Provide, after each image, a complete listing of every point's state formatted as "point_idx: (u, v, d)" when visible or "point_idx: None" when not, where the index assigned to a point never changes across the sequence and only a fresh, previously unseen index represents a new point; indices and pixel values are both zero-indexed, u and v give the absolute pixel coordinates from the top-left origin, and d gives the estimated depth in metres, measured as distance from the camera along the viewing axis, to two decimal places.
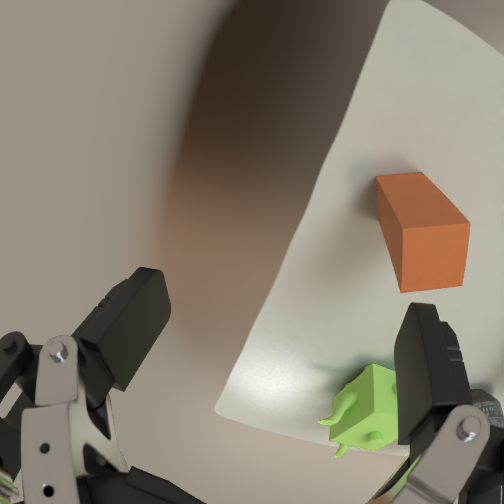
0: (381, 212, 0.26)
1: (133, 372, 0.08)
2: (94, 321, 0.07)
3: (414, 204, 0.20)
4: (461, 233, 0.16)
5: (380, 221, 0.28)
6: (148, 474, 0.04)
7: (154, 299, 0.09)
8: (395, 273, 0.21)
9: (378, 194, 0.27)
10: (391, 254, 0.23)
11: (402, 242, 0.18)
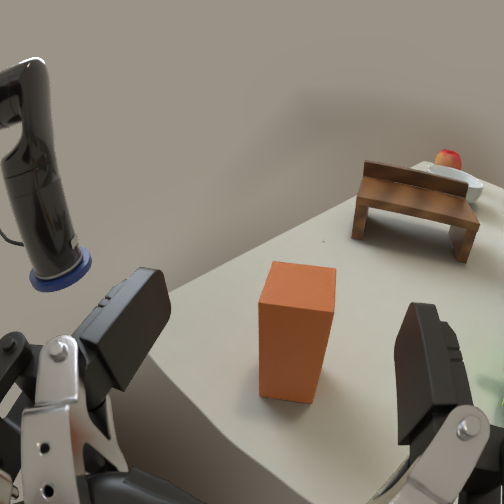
0: (291, 387, 0.24)
1: (133, 372, 0.08)
2: (94, 321, 0.07)
3: None
4: (280, 266, 0.23)
5: (306, 396, 0.24)
6: (148, 474, 0.04)
7: (154, 299, 0.09)
8: (327, 336, 0.20)
9: (275, 392, 0.25)
10: (316, 353, 0.21)
11: (273, 305, 0.20)
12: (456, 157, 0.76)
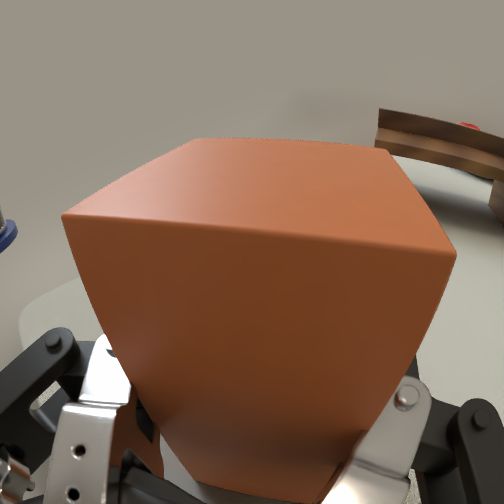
0: (259, 485, 0.08)
1: None
2: None
3: None
4: (212, 142, 0.07)
5: (297, 497, 0.08)
6: (148, 474, 0.04)
7: None
8: (392, 388, 0.04)
9: (226, 484, 0.09)
10: (333, 438, 0.05)
11: (111, 223, 0.04)
12: None
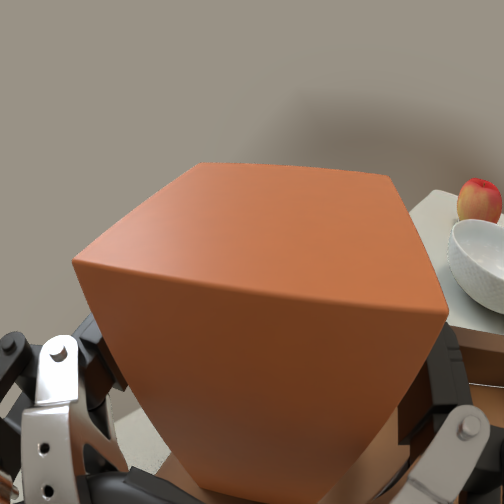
0: (262, 492, 0.08)
1: None
2: (94, 321, 0.07)
3: None
4: (216, 168, 0.07)
5: (298, 503, 0.08)
6: (148, 474, 0.04)
7: None
8: (385, 416, 0.04)
9: (229, 491, 0.09)
10: (332, 455, 0.05)
11: (122, 274, 0.04)
12: (495, 195, 0.39)
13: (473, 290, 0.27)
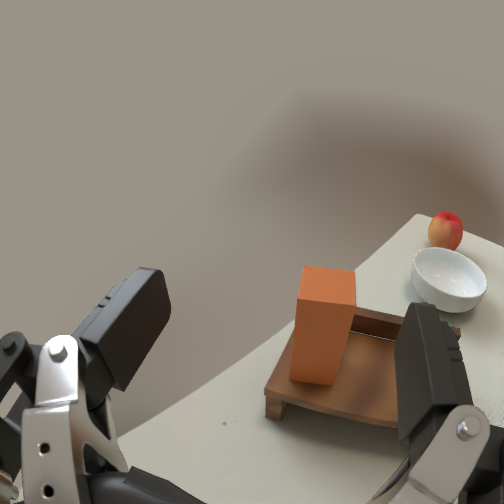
0: (317, 371, 0.29)
1: (133, 372, 0.08)
2: (94, 321, 0.07)
3: None
4: (310, 270, 0.28)
5: (329, 378, 0.29)
6: (148, 474, 0.04)
7: (154, 299, 0.09)
8: (350, 325, 0.25)
9: (303, 376, 0.30)
10: (340, 339, 0.26)
11: (309, 300, 0.25)
12: (457, 226, 0.60)
13: (424, 296, 0.48)
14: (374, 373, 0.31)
